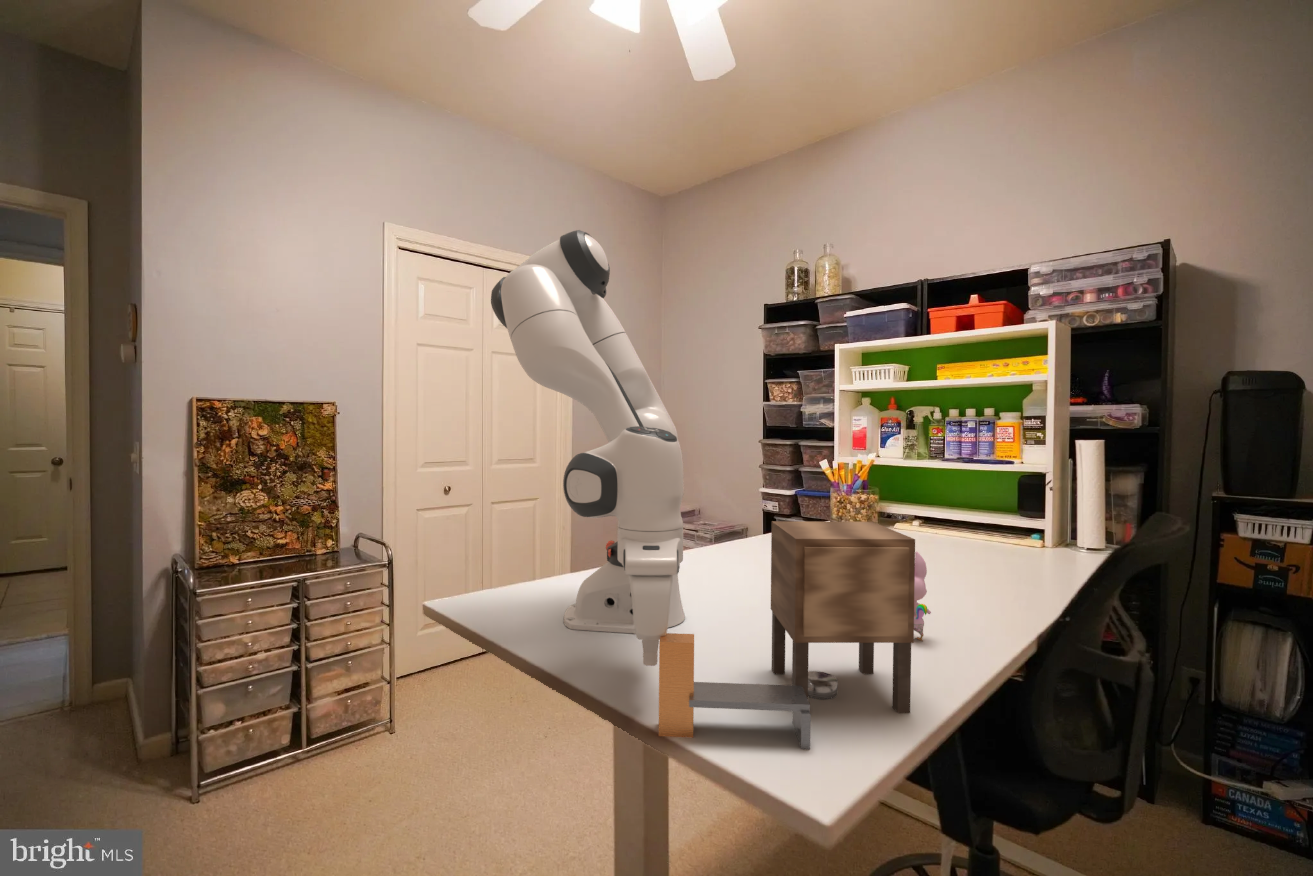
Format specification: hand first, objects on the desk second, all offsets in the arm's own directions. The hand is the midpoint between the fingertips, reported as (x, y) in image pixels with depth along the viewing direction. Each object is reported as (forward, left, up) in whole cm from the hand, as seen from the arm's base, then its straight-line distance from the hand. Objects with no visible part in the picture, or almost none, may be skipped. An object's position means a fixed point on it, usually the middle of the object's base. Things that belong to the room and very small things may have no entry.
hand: (649, 650), depth 81 cm
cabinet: (+25, +1, -6) cm, 26 cm away
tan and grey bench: (+3, -10, -6) cm, 12 cm away
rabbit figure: (+45, +19, -6) cm, 49 cm away
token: (+23, 0, -6) cm, 24 cm away
